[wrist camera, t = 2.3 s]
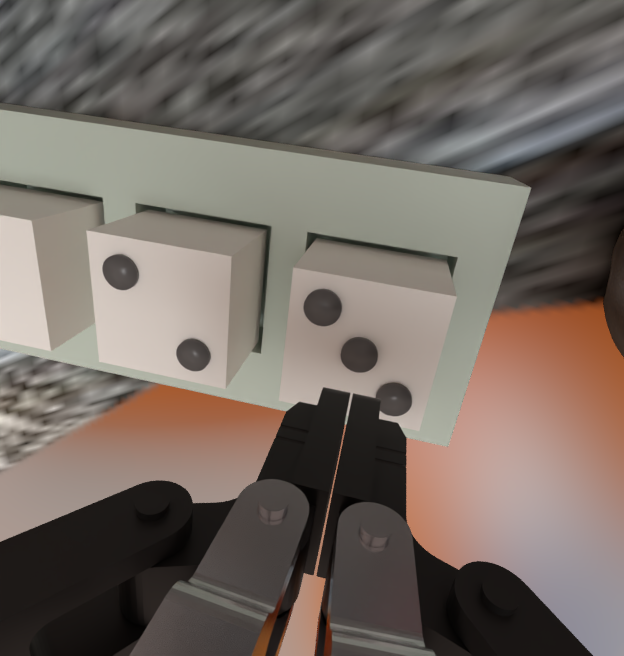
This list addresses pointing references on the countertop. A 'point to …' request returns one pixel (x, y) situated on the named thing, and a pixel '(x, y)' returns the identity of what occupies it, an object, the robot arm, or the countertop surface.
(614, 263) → the plant pot
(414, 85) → the countertop surface
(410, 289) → the tile three
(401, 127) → the countertop surface
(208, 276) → the tile two
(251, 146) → the tap board
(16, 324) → the tile one
